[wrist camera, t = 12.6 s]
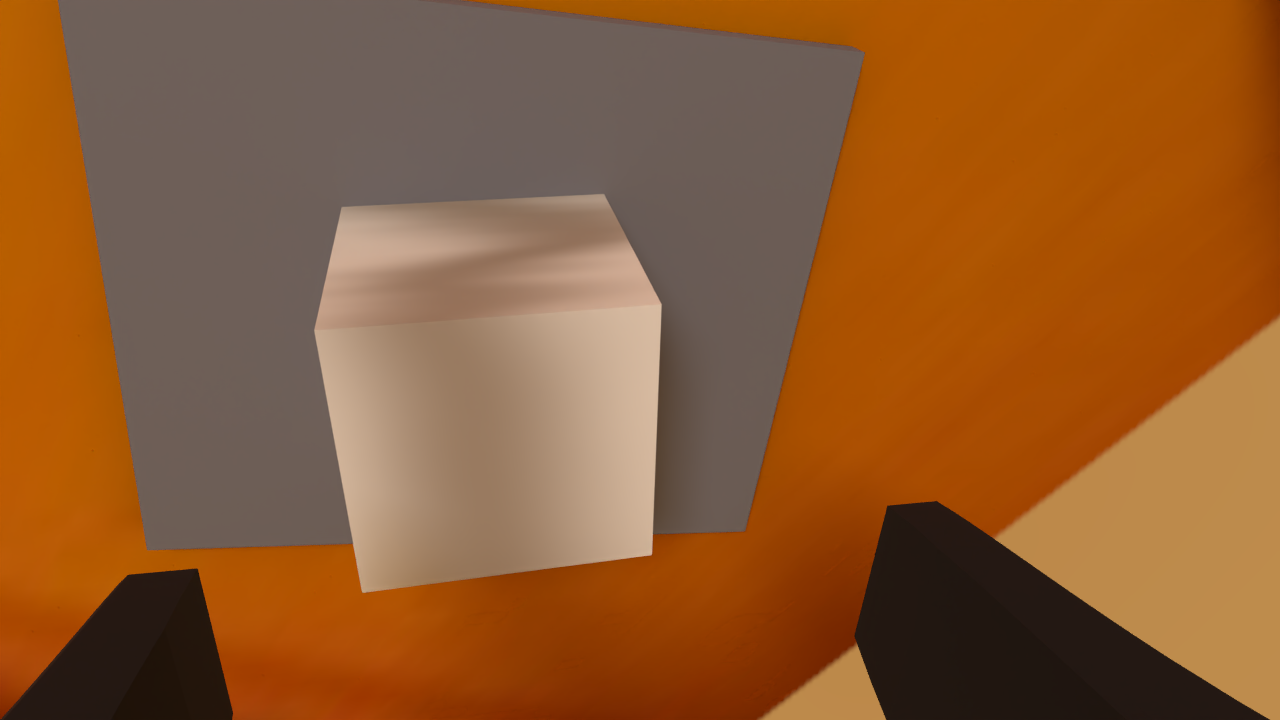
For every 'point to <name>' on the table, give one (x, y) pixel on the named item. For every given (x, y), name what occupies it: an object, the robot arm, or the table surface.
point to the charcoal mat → (424, 173)
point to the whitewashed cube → (490, 387)
